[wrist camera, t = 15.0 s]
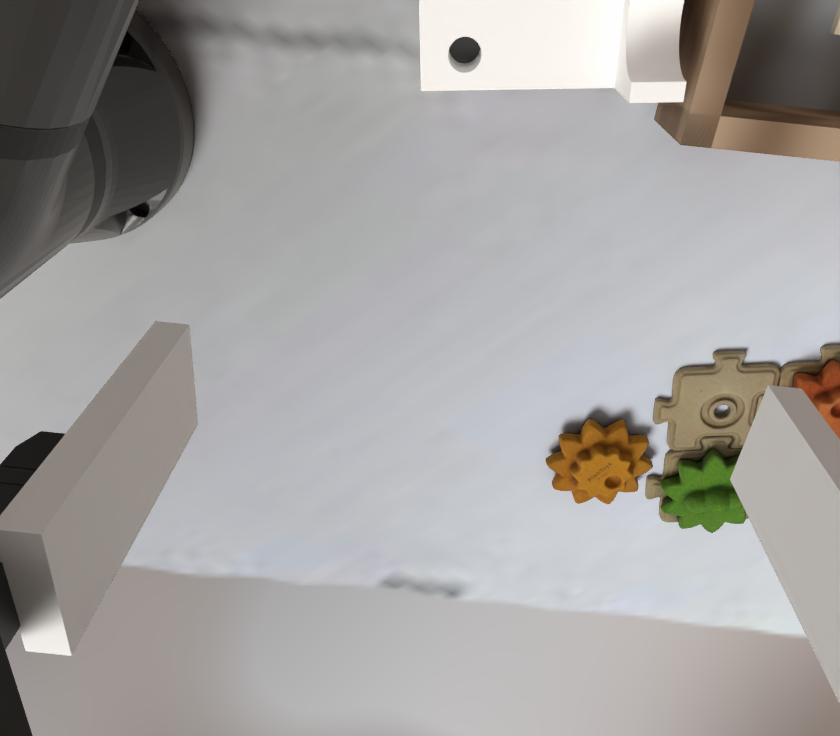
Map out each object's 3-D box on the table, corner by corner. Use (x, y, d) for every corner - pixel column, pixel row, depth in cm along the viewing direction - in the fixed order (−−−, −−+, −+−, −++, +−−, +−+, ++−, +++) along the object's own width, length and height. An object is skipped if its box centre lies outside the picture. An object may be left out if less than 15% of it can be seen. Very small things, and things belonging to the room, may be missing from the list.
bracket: (668, -68, 38) (710, -69, 31) (649, 75, 42) (683, 102, 35) (421, -61, 39) (412, -60, 32) (424, 79, 42) (416, 105, 36)
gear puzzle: (543, 521, 60) (548, 557, 56) (545, 353, 52) (550, 383, 48) (939, 512, 57) (971, 549, 54) (1007, 333, 49) (1049, 363, 45)
